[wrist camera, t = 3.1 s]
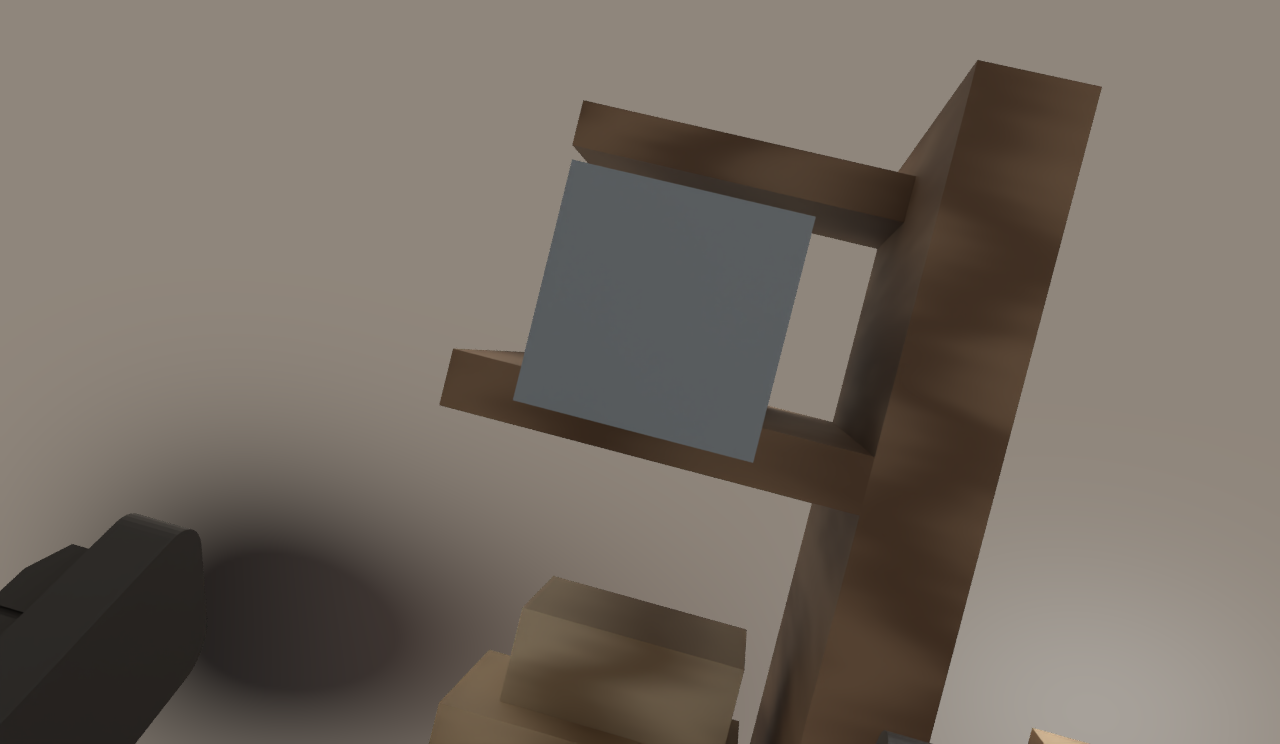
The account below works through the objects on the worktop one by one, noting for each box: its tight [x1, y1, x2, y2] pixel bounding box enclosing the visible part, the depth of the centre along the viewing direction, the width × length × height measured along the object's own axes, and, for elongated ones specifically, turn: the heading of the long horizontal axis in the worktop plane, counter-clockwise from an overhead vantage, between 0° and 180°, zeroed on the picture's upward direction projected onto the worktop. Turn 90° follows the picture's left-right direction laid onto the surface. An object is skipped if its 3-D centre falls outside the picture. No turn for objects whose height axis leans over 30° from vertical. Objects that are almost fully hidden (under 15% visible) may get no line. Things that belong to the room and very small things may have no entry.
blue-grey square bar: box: [513, 160, 816, 463], centre depth 30 cm, size 4×25×4 cm, turn 174°
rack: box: [429, 60, 1102, 744], centre depth 36 cm, size 14×16×40 cm
